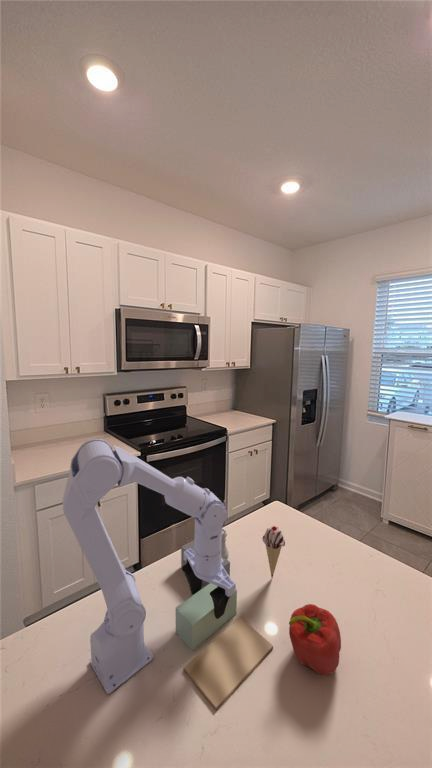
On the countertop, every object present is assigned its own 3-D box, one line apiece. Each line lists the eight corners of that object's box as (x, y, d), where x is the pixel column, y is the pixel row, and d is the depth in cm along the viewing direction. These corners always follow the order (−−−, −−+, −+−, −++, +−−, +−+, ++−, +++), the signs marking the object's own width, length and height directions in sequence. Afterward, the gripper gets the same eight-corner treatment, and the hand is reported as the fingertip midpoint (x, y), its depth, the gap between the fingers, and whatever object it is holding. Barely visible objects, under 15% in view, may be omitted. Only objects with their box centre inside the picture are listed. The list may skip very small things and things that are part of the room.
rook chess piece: (222, 564, 88) (223, 538, 87) (210, 557, 91) (210, 532, 90) (231, 555, 92) (232, 530, 91) (219, 549, 94) (219, 524, 93)
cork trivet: (216, 710, 54) (216, 707, 54) (183, 669, 60) (183, 667, 60) (273, 648, 65) (273, 645, 65) (240, 619, 71) (240, 617, 71)
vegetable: (298, 692, 57) (301, 644, 55) (276, 639, 67) (278, 597, 65) (352, 680, 59) (357, 634, 57) (323, 630, 69) (326, 589, 67)
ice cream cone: (284, 587, 80) (287, 533, 78) (262, 587, 81) (264, 532, 78) (280, 571, 86) (283, 520, 84) (259, 570, 86) (261, 519, 84)
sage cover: (192, 651, 64) (192, 625, 63) (175, 632, 68) (175, 607, 67) (236, 613, 73) (236, 590, 72) (219, 598, 77) (219, 576, 76)
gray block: (229, 583, 82) (230, 562, 81) (213, 595, 78) (213, 573, 77) (196, 557, 91) (197, 538, 90) (181, 566, 87) (181, 546, 86)
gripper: (246, 556, 65) (244, 614, 67) (200, 525, 76) (199, 576, 78) (221, 574, 60) (220, 635, 63) (175, 538, 71) (176, 592, 73)
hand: (207, 604), depth 70 cm, fingers open, 7 cm apart
